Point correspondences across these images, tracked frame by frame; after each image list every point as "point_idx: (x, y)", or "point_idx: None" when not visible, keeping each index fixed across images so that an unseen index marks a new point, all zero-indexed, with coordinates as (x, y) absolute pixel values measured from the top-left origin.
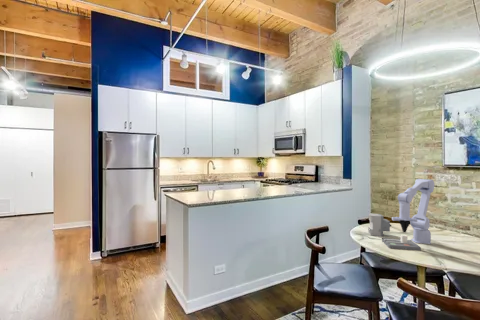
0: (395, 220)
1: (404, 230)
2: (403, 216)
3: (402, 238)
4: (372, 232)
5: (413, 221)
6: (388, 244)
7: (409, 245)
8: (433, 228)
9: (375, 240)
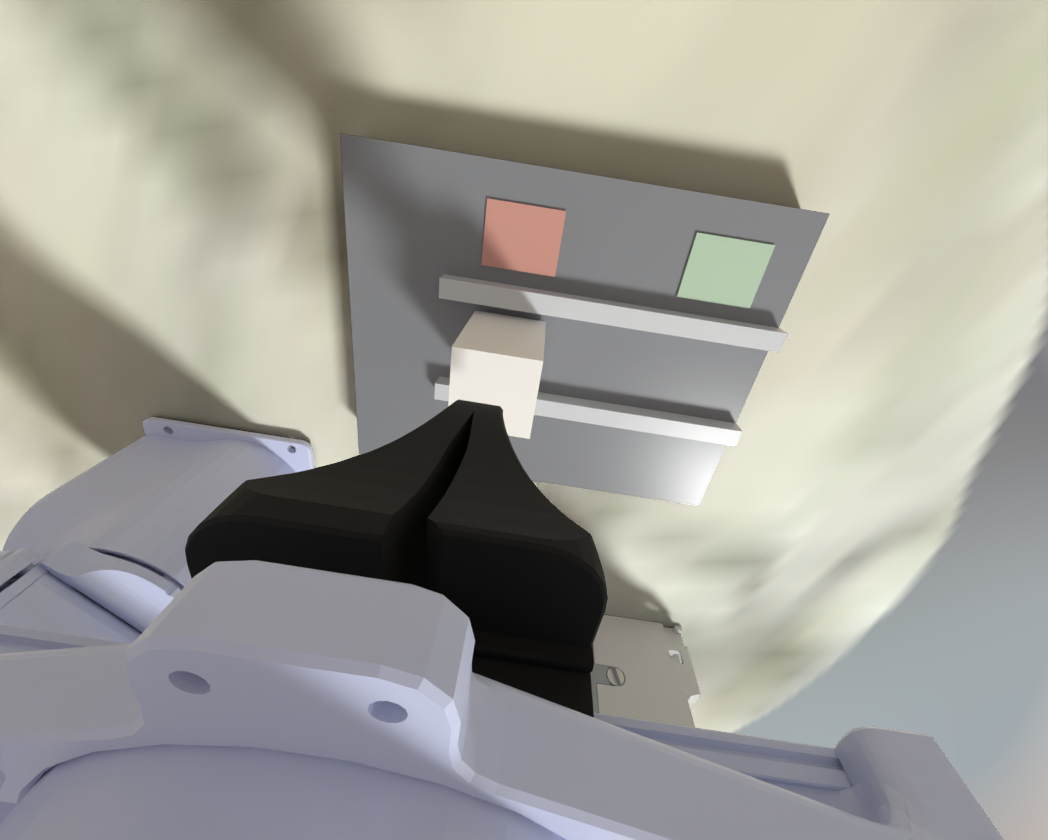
0: (785, 742)
1: (486, 417)
2: None
3: (542, 344)
4: (671, 659)
5: (5, 625)
6: (807, 257)
7: (489, 214)
8: None
9: (753, 500)
